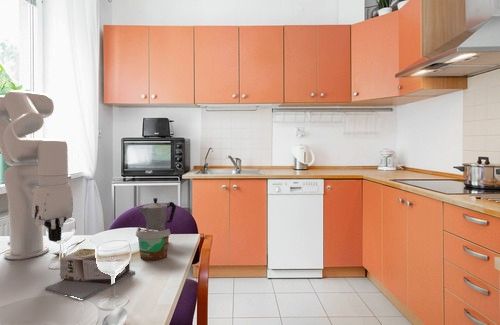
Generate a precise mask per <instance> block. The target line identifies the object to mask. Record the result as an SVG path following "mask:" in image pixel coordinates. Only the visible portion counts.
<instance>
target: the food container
mask: <svg viewBox="0 0 500 325" xmlns="http://www.w3.org/2000/svg"><path fill="white" fill-rule="evenodd" d="M135 236H136V237H137V240H138V249H139V256H140V259H141V260H142V261H145V262H154V261H155V262H156V261H160V260H164V259H166V258H168V252H169V250H168V248H169V238H170V236H171V230H170V228H167V229H165V230H164V231H160V230H156V229H150V230H146V229H143V228H141V226H139V227H137V230H136V232H135Z"/></svg>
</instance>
